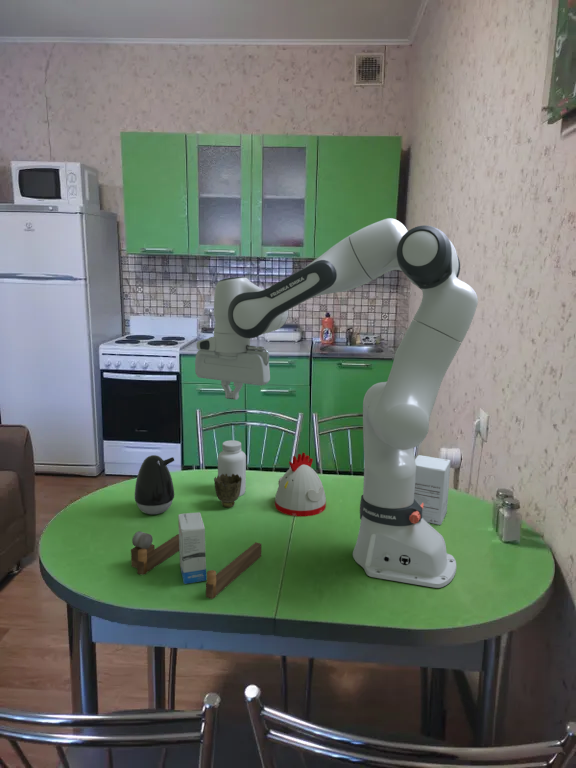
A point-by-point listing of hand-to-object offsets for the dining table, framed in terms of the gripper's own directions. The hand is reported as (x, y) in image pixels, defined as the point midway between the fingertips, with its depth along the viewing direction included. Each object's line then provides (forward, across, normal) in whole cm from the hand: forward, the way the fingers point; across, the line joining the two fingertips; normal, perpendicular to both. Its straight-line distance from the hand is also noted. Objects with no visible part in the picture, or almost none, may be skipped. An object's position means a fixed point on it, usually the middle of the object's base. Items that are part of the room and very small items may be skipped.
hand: (232, 398), depth 138 cm
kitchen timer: (+31, -13, -14) cm, 37 cm away
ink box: (+31, -8, +28) cm, 43 cm away
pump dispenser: (+31, +19, +8) cm, 37 cm away
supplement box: (+31, -45, -25) cm, 60 cm away
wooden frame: (+31, -7, +24) cm, 40 cm away
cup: (+31, +4, -4) cm, 32 cm away
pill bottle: (+31, +8, -12) cm, 35 cm away
